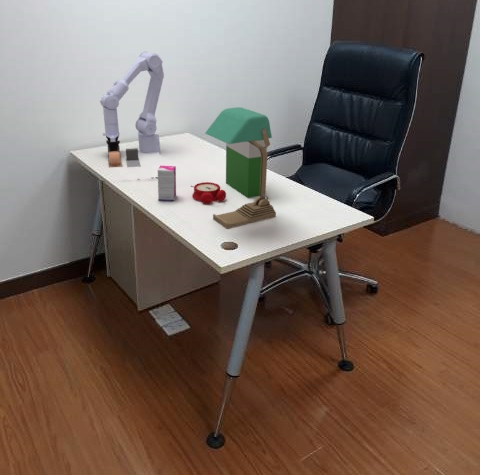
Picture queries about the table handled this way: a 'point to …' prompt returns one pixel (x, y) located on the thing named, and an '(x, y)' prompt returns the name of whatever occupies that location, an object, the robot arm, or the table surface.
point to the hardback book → (244, 167)
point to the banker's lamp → (256, 128)
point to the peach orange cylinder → (109, 160)
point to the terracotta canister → (114, 158)
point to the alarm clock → (208, 192)
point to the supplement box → (166, 183)
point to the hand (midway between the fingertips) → (114, 153)
